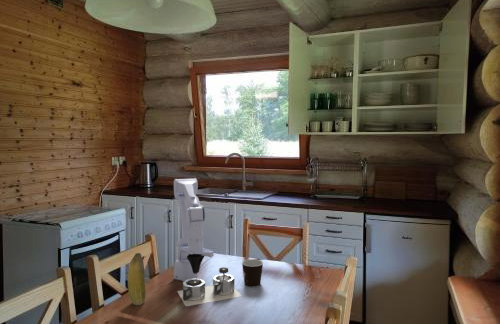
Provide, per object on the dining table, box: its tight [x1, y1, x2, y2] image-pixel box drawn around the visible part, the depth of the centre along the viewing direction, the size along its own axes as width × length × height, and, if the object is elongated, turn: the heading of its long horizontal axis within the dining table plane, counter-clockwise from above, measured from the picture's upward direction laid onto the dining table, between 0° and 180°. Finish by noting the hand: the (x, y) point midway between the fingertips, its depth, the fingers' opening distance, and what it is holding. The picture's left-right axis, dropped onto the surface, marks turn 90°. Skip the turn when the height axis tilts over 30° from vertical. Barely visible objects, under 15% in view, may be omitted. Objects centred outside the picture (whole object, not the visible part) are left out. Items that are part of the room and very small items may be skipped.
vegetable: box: [127, 252, 146, 306], centre depth 139 cm, size 6×6×20 cm
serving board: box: [176, 284, 242, 307], centre depth 148 cm, size 22×14×1 cm, turn 113°
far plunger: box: [218, 267, 230, 281], centre depth 150 cm, size 5×5×4 cm
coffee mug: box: [241, 258, 264, 288], centre depth 159 cm, size 12×9×10 cm
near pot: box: [182, 277, 206, 301], centre depth 144 cm, size 8×11×5 cm
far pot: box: [212, 273, 235, 296], centre depth 149 cm, size 8×11×5 cm
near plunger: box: [189, 280, 199, 286], centre depth 145 cm, size 5×5×4 cm
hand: (195, 272), depth 145 cm, fingers closed
